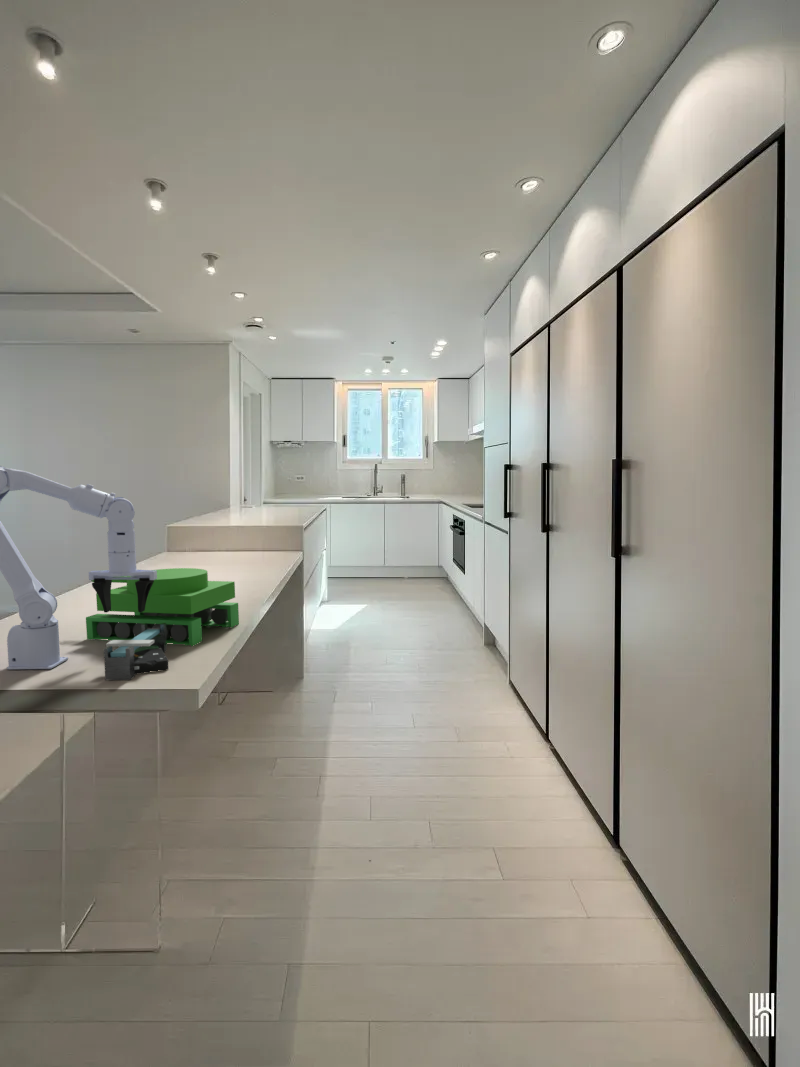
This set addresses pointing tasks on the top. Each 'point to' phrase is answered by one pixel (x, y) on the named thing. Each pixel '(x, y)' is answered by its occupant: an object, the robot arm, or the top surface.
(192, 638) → the tank
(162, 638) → the hinge bracket
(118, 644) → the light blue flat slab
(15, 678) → the top surface
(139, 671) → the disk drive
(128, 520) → the robot arm
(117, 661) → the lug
